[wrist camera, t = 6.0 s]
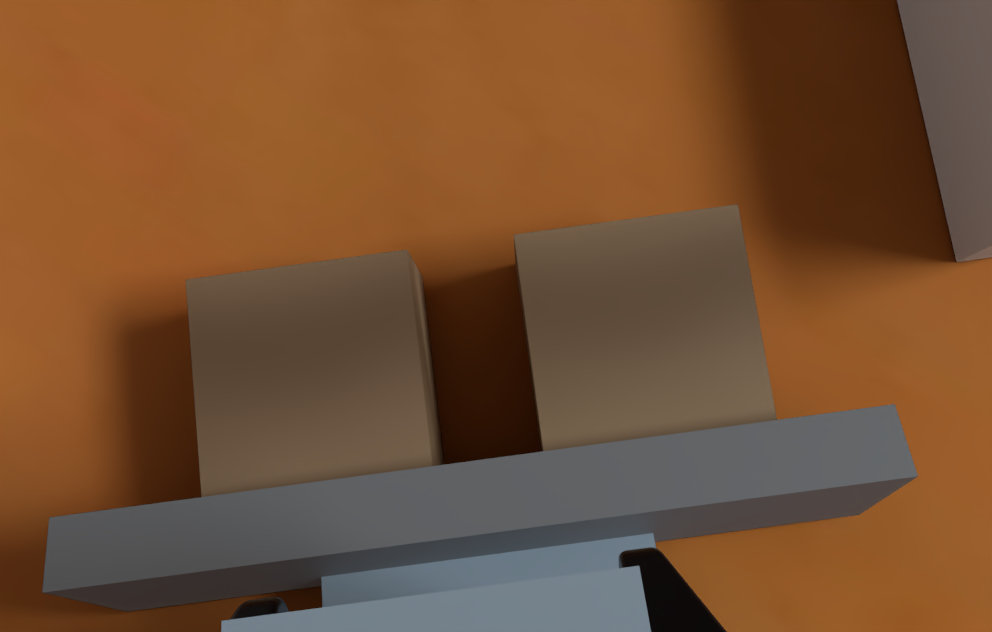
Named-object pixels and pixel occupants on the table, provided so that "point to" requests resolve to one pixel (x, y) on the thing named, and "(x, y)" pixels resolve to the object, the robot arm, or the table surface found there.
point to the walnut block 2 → (642, 328)
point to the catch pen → (956, 110)
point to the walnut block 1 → (312, 373)
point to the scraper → (480, 530)
